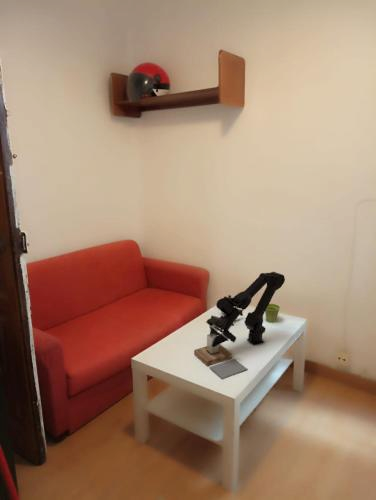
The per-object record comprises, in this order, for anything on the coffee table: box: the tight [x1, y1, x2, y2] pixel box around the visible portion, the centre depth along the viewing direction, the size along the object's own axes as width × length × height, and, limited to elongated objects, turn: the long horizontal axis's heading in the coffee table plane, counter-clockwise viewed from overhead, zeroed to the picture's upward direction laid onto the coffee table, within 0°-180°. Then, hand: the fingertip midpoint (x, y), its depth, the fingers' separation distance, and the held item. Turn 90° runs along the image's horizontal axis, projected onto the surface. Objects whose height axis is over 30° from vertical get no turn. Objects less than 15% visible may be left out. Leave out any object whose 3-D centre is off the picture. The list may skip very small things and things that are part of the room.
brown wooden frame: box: [193, 344, 233, 367], centre depth 178 cm, size 14×12×2 cm
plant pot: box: [264, 303, 281, 323], centre depth 214 cm, size 9×9×9 cm
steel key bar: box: [206, 333, 219, 355], centre depth 177 cm, size 4×4×11 cm
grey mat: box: [208, 358, 248, 380], centre depth 167 cm, size 14×10×1 cm
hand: (210, 344), depth 176 cm, fingers closed on steel key bar, 4 cm apart
